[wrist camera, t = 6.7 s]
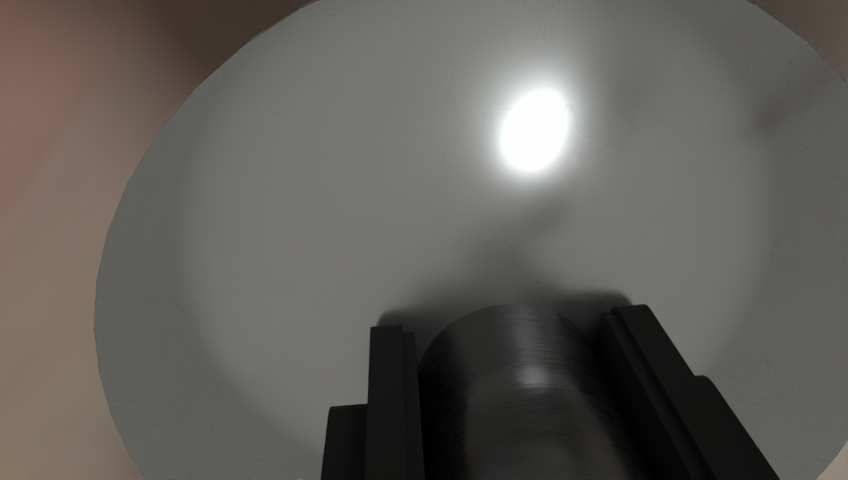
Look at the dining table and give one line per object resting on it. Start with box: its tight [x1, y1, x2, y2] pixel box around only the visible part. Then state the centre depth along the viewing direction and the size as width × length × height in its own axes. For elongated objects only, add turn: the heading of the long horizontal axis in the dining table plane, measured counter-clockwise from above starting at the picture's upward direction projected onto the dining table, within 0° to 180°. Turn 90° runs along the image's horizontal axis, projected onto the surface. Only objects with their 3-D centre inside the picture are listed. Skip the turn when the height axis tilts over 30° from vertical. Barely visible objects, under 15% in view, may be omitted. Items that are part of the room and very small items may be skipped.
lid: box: [94, 0, 848, 480], centre depth 10 cm, size 14×14×6 cm
